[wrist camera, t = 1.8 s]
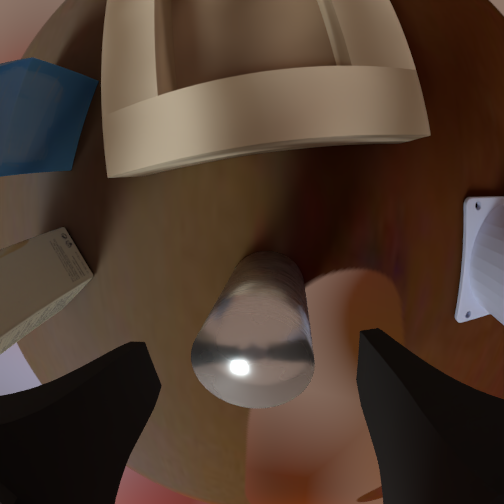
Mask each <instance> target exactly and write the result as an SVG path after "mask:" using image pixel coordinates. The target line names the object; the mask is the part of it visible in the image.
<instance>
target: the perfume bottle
mask: <svg viewBox="0 0 504 504" xmlns="http://www.w3.org/2000/svg"><path fill="white" fill-rule="evenodd" d="M98 82H99V81H97V80H95V79H92V78H90V77H87V76H85V75H82V74H79V73H77V72H74V71H71V70H69V69H66V68H63V67H60V66H57V65H54V64H51V63H48V62H45V61H42V60H39V59H36V58H26V59H21V60H15V61H11V62H6V63H2V64H0V176H8V175H17V174H27V173H39V172H52V171H69V170H72V165H73V161H74V157H75V153H76V149H77V145H78V141H79V138H80V134H81V131H82V128H83V124H84V121H85V118H86V115H87V112H88V109H89V106H90V103H91V100H92V98H93V95H94V92H95V90H96V87H97V84H98Z"/></svg>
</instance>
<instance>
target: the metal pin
mask: <svg viewBox="0 0 504 504" xmlns="http://www.w3.org/2000/svg"><path fill="white" fill-rule="evenodd" d="M191 361H192V366H193V369H194V372H195V374H196V376H197V377H198V379H199V380H200V382H201V383H202V384H203V385H204V387H205V388H206V389H207V390H209V391H210V392H211V393H212V394H214V395H215V396H217V397H218V398H220V399H222V400H224V401H226V402H228V403H231V404H234V405H237V406H241V407H247V408H269V407H275V406H278V405H281V404H284V403H287V402H289V401H291V400H293V399H294V398H295V397H297V396H298V395H299V394H301V393H302V392H303V391H304V390H305V388H306V387H307V386H308V384H309V383H310V381H311V379H312V376H313V373H314V364H315V363H314V354H313V346H312V338H311V330H310V323H309V315H308V307H307V300H306V293H305V286H304V280H303V276H302V273H301V271H300V269H299V268H298V266H297V265H296V264H295V263H294V262H293V261H292V260H291V259H290V258H288V257H287V256H285V255H283V254H280V253H278V252H273V251H260V252H256V253H253V254H251V255H248V256H247V257H245V258H244V259H243V260H242V261H240V263H239V264H238V265H237V266H236V268H235V270H234V271H233V273H232V275H231V277H230V278H229V280H228V282H227V284H226V285H225V287H224V289H223V291H222V293H221V294H220V296H219V298H218V300H217V301H216V303H215V305H214V307H213V309H212V310H211V312H210V314H209V316H208V317H207V319H206V321H205V323H204V325H203V326H202V328H201V330H200V332H199V333H198V335H197V337H196V339H195V341H194V343H193V347H192V351H191Z"/></svg>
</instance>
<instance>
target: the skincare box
mask: <svg viewBox="0 0 504 504" xmlns="http://www.w3.org/2000/svg"><path fill="white" fill-rule="evenodd" d="M92 278H93V274H92V272H91V270H90V269H89V267H88V266H87V264H86V262H85V261H84V259H83V257H82V256H81V254H80V252H79V250H78V249H77V247H76V245H75V244H74V242H73V240H72V239H71V237H70V235H69V234H68V232H67V231H66V229H65V227H62V228H59V229H56V230H53V231H50V232H47V233H44V234H41V235H38V236H36V237H33V238H30V239H27V240H25V241H22V242H19V243H17V244H14V245H11V246H9V247H6V248H4V249H1V250H0V354H2V353H3V352H4V351H6V350H7V349H8V348H9V347H11V346H12V345H13V344H15V343H16V342H17V341H19V340H20V339H21V338H23V337H24V336H25V335H27V334H28V333H29V332H31V331H32V330H34V329H35V328H36V327H38V326H39V325H40V324H42V323H43V322H45V321H46V320H48V319H49V318H50V317H52V316H53V315H55V314H56V313H58V312H59V311H60V310H62V309H63V308H64V307H65V306H66V305H67V304H68V303H69V302H70V301H71V300H72V299H73V298H74V297H75V296H76V295H77V294H78V293H79V292H80V291H81V290H82V289H83V287H84V286H85V285H86V284H87V283H88V282H89V281H90V280H91V279H92Z"/></svg>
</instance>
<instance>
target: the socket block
mask: <svg viewBox="0 0 504 504" xmlns="http://www.w3.org/2000/svg"><path fill="white" fill-rule="evenodd" d="M101 103H102V125H103V139H104V150H105V160H106V169H107V177H108V178H115V177H138V176H147V175H151V174H155V173H159V172H163V171H168V170H172V169H177V168H181V167H186V166H191V165H196V164H201V163H206V162H211V161H217V160H222V159H228V158H234V157H240V156H247V155H253V154H260V153H268V152H276V151H284V150H293V149H302V148H313V147H325V146H339V145H358V144H400V143H404V142H407V141H411V140H415V139H419V138H423V137H427V136H431V134H430V128H429V123H428V117H427V112H426V108H425V103H424V99H423V94H422V90H421V86H420V82H419V79H418V75H417V72H416V68H415V65H414V62H413V58H412V55H411V52H410V49H409V46H408V44H407V41H406V38H405V35H404V33H403V30H402V28H401V25H400V23H399V20H398V18H397V15H396V13H395V11H394V9H393V6H392V4H391V2H390V0H107V4H106V12H105V21H104V31H103V44H102V65H101Z"/></svg>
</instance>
